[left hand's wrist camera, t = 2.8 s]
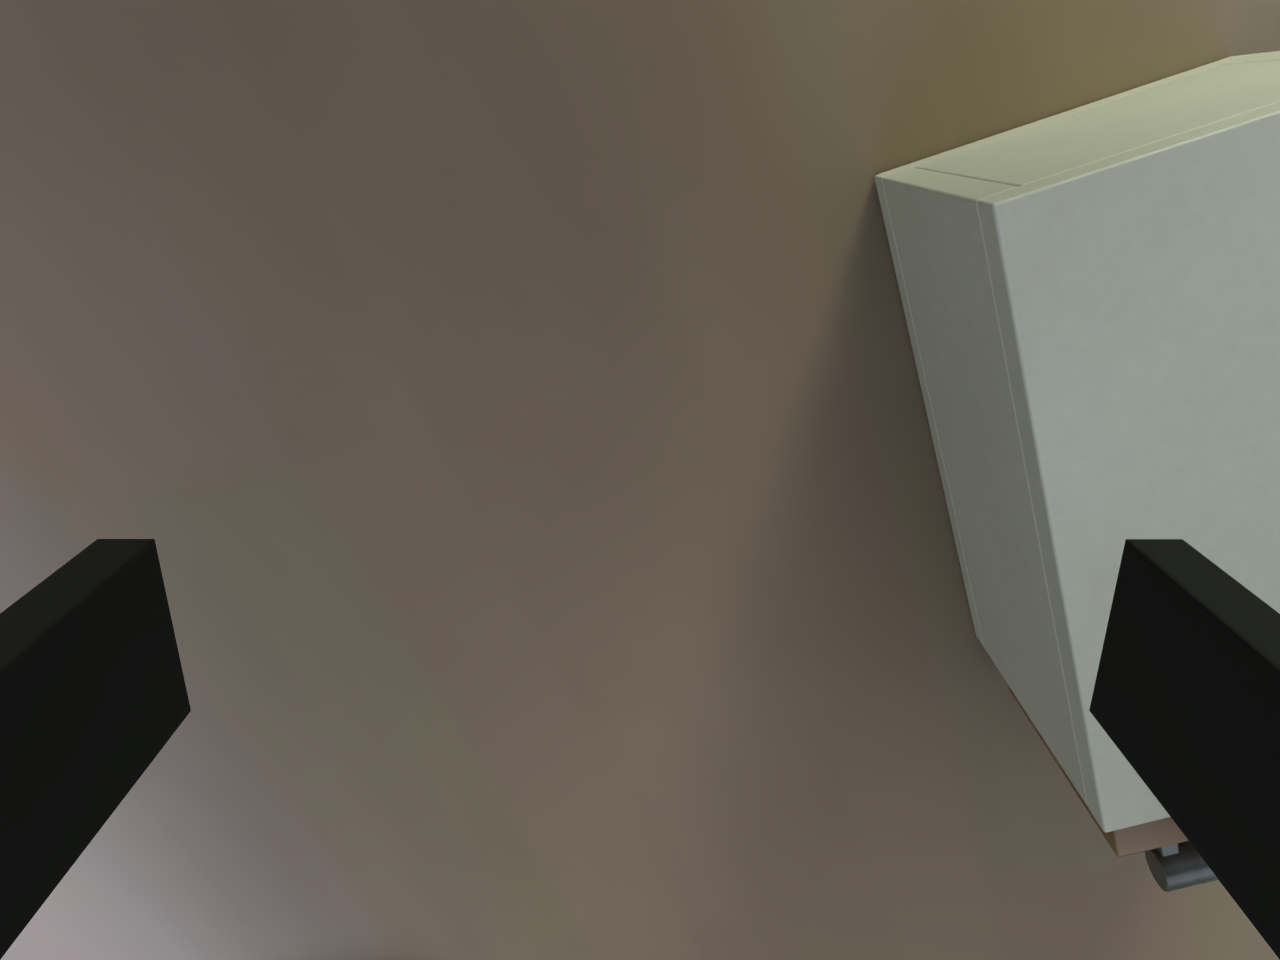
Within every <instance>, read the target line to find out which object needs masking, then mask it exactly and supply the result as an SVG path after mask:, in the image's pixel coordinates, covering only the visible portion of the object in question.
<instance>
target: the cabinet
mask: <svg viewBox="0 0 1280 960" xmlns="http://www.w3.org/2000/svg"><path fill="white" fill-rule="evenodd" d="M875 183H876V187H877V192H878V196H879V201H880V205H881V210H882V214H883V219H884V223H885V228H886V232H887V237H888V241H889V246H890V250H891V255H892V259H893V264H894V269H895V273H896V278H897V282H898V287H899V291H900V296H901V300H902V305H903V309H904V314H905V318H906V323H907V327H908V332H909V336H910V341H911V345H912V350H913V354H914V359H915V363H916V368H917V372H918V377H919V381H920V386H921V390H922V395H923V399H924V404H925V408H926V413H927V417H928V422H929V427H930V431H931V436H932V440H933V445H934V449H935V454H936V458H937V463H938V467H939V472H940V476H941V481H942V485H943V490H944V494H945V499H946V503H947V508H948V512H949V517H950V521H951V526H952V530H953V535H954V539H955V544H956V548H957V553H958V557H959V562H960V566H961V571H962V576H963V580H964V585H965V589H966V594H967V598H968V603H969V607H970V612H971V616H972V621H973V625H974V630H975V634H976V636H977V638H978V639H979V641H980V642H981V644H982V645H983V647H984V648H985V650H986V651H987V653H988V654H989V656H990V658H991V659H992V661H993V662H994V664H995V665H996V667H997V668H998V670H999V671H1000V673H1001V674H1002V676H1003V677H1004V679H1005V681H1006V682H1007V684H1008V685H1009V687H1010V688H1011V690H1012V691H1013V693H1014V694H1015V696H1016V697H1017V699H1018V701H1019V702H1020V704H1021V705H1022V707H1023V708H1024V710H1025V711H1026V713H1027V714H1028V716H1029V717H1030V719H1031V721H1032V722H1033V724H1034V725H1035V727H1036V728H1037V730H1038V731H1039V733H1040V734H1041V736H1042V737H1043V739H1044V740H1045V742H1046V744H1047V745H1048V747H1049V748H1050V750H1051V751H1052V753H1053V754H1054V756H1055V757H1056V759H1057V760H1058V762H1059V764H1060V765H1061V767H1062V768H1063V770H1064V771H1065V773H1066V774H1067V776H1068V777H1069V779H1070V780H1071V782H1072V783H1073V785H1074V787H1075V788H1076V790H1077V791H1078V793H1079V794H1080V796H1081V797H1082V799H1083V800H1084V802H1085V803H1086V805H1087V806H1088V807H1089V810H1090V811H1091V813H1092V814H1093V816H1094V818H1095V819H1096V821H1097V822H1098V824H1099V825H1100V827H1101V828H1102V830H1103V831H1104V832H1105V833H1107V832H1111V831H1116V830H1120V829H1124V828H1128V827H1132V826H1136V825H1140V824H1144V823H1148V822H1153V821H1157V820H1161V819H1165V818H1169V817H1170V815H1169V814H1168V813H1167V811H1166V810H1165V809H1164V808H1163V806H1162V805H1161V804H1160V802H1159V801H1158V800H1157V798H1156V797H1155V796H1154V795H1153V793H1152V792H1151V791H1150V789H1149V788H1148V787H1147V785H1146V784H1145V783H1144V781H1143V780H1142V779H1141V778H1140V776H1139V775H1138V774H1137V772H1136V771H1135V770H1134V768H1133V767H1132V766H1131V764H1130V763H1129V762H1128V761H1127V759H1126V758H1125V757H1124V755H1123V754H1122V753H1121V751H1120V750H1119V749H1118V748H1117V746H1116V745H1115V744H1114V742H1113V741H1112V740H1111V738H1110V737H1109V736H1108V734H1107V733H1106V732H1105V731H1104V729H1103V728H1102V727H1101V725H1100V724H1099V723H1098V721H1097V720H1096V719H1095V717H1094V716H1093V715H1092V714H1091V712H1090V711H1089V709H1090V705H1091V700H1092V695H1093V691H1094V686H1095V681H1096V676H1097V672H1098V667H1099V662H1100V658H1101V653H1102V648H1103V643H1104V639H1105V634H1106V629H1107V625H1108V620H1109V615H1110V611H1111V606H1112V601H1113V596H1114V592H1115V587H1116V582H1117V578H1118V573H1119V568H1120V563H1121V559H1122V554H1123V549H1124V545H1125V540H1126V539H1183V540H1184V541H1185V542H1187V543H1188V544H1189V545H1191V546H1192V547H1193V548H1194V549H1196V550H1197V551H1198V552H1200V553H1201V554H1202V555H1204V556H1205V557H1206V558H1208V559H1209V560H1210V561H1211V562H1213V563H1214V564H1215V565H1217V566H1218V567H1219V568H1221V569H1222V570H1223V571H1225V572H1226V573H1227V574H1228V575H1230V576H1231V577H1232V578H1234V579H1235V580H1236V581H1238V582H1239V583H1240V584H1242V585H1243V586H1244V587H1245V588H1247V589H1248V590H1249V591H1251V592H1252V593H1253V594H1255V595H1256V596H1257V597H1258V598H1260V599H1261V600H1262V601H1264V602H1265V603H1266V604H1268V605H1269V606H1270V607H1272V608H1273V609H1274V610H1275V611H1277V612H1278V613H1279V614H1280V51H1275V52H1266V53H1256V54H1250V55H1240V56H1230V57H1227V58H1224V59H1221V60H1218V61H1215V62H1212V63H1209V64H1206V65H1203V66H1200V67H1197V68H1194V69H1191V70H1188V71H1185V72H1182V73H1179V74H1176V75H1173V76H1170V77H1168V78H1165V79H1162V80H1159V81H1156V82H1153V83H1150V84H1147V85H1144V86H1141V87H1138V88H1135V89H1132V90H1129V91H1126V92H1123V93H1120V94H1117V95H1114V96H1111V97H1108V98H1105V99H1102V100H1099V101H1096V102H1093V103H1090V104H1087V105H1084V106H1081V107H1078V108H1075V109H1072V110H1069V111H1066V112H1063V113H1060V114H1057V115H1054V116H1051V117H1048V118H1045V119H1042V120H1039V121H1036V122H1033V123H1030V124H1027V125H1024V126H1021V127H1018V128H1015V129H1012V130H1009V131H1006V132H1003V133H1000V134H997V135H994V136H991V137H988V138H985V139H982V140H979V141H976V142H973V143H970V144H967V145H964V146H961V147H958V148H955V149H952V150H949V151H946V152H943V153H940V154H937V155H934V156H931V157H928V158H925V159H922V160H919V161H916V162H913V163H910V164H907V165H904V166H901V167H898V168H895V169H892V170H889V171H886V172H883V173H880V174H877V175H876V176H875Z"/></svg>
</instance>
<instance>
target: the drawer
mask: <svg viewBox="0 0 1280 960" xmlns="http://www.w3.org/2000/svg"><path fill="white" fill-rule="evenodd" d="M1008 686H1009V685H1008ZM1009 690H1010V692H1011V693H1012V695H1013V696H1014V698H1015V699H1016V701H1017V702H1018V704H1019V705H1020V707H1021V708H1022V710H1023V712H1024V713H1025V715H1026V716H1027V718H1028V719H1029V721H1030V722H1031V724H1032V725H1033V727H1034V729H1035V730H1036V732H1037V733H1038V735H1039V736H1040V738H1041V739H1042V741H1043V742H1044V744H1045V746H1046V747H1047V749H1048V750H1049V752H1050V753H1051V755H1052V756H1053V758H1054V759H1055V761H1056V763H1057V764H1058V766H1059V767H1060V769H1061V770H1062V772H1063V773H1064V775H1065V776H1066V778H1067V780H1068V781H1069V783H1070V784H1071V786H1072V787H1073V789H1074V790H1075V792H1076V793H1077V795H1078V797H1079V798H1080V800H1081V801H1082V803H1083V804H1084V806H1085V807H1086V809H1087V810H1088V812H1089V814H1090V815H1091V817H1092V818H1093V820H1094V821H1095V823H1096V824H1097V826H1098V827H1099V829H1100V831H1101V832H1102V834H1103V835H1104V837H1105V838H1106V840H1107V841H1108V843H1109V844H1110V846H1111V848H1112V849H1113V851H1114V852H1115V854H1116V855H1117V856H1118V857H1123V856H1127V855H1131V854H1135V853H1140V852H1144V851H1145V855H1146V860H1147V863H1148V865H1149V868H1150V870H1151V873H1152V875H1153V877H1154V878H1155V880H1156V882H1157V883H1158V885H1159V886H1160V887H1161V888H1162V889H1163V890H1164V891H1167V892H1168V891H1173V890H1177V889H1181V888H1185V887H1190V886H1194V885H1198V884H1202V883H1207V882H1211V881H1215V880H1219V879H1218V878H1217V877H1216V875H1215V874H1214V873H1213V872H1212V870H1211V869H1210V868H1209V866H1208V865H1207V864H1206V862H1205V861H1204V860H1203V859H1202V857H1201V856H1200V855H1199V853H1198V852H1197V851H1196V849H1195V848H1194V847H1193V845H1192V844H1191V843H1190V842H1189V840H1188V839H1187V838H1186V836H1185V835H1184V834H1183V832H1182V831H1181V830H1180V828H1179V827H1178V826H1177V825H1176V823H1175V822H1174V821H1173V819H1172V818H1171V817H1169V818H1165V819H1161V820H1157V821H1153V822H1148V823H1144V824H1140V825H1136V826H1132V827H1128V828H1124V829H1120V830H1116V831H1111V832H1107V833H1105V832H1104V831H1103V830H1102V828H1101V827H1100V825H1099V824H1098V822H1097V821H1096V819H1095V818H1094V816H1093V814H1092V813H1091V811H1090V810H1089V807H1088V806H1087V805H1086V803H1085V802H1084V800H1083V799H1082V797H1081V796H1080V794H1079V793H1078V791H1077V790H1076V788H1075V787H1074V785H1073V783H1072V782H1071V780H1070V779H1069V777H1068V776H1067V774H1066V773H1065V771H1064V770H1063V768H1062V767H1061V765H1060V764H1059V762H1058V760H1057V759H1056V757H1055V756H1054V754H1053V753H1052V751H1051V750H1050V748H1049V747H1048V745H1047V744H1046V742H1045V740H1044V739H1043V737H1042V736H1041V734H1040V733H1039V731H1038V730H1037V728H1036V727H1035V725H1034V724H1033V722H1032V721H1031V719H1030V717H1029V716H1028V714H1027V713H1026V711H1025V710H1024V708H1023V707H1022V705H1021V704H1020V702H1019V701H1018V699H1017V697H1016V696H1015V694H1014V693H1013V691H1012V690H1011V688H1010V687H1009Z"/></svg>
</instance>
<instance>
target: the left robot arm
mask: <svg viewBox="0 0 1280 960" xmlns="http://www.w3.org/2000/svg"><path fill="white" fill-rule="evenodd" d="M190 711H191V709H190V705H189V700H188V695H187V691H186V686H185V681H184V676H183V672H182V667H181V662H180V658H179V653H178V648H177V643H176V639H175V634H174V629H173V625H172V620H171V615H170V611H169V606H168V601H167V596H166V592H165V587H164V582H163V578H162V573H161V568H160V563H159V559H158V554H157V549H156V545H155V540H154V539H97V540H96V541H95V542H93V543H92V544H91V545H89V546H88V547H87V548H86V549H84V550H83V551H82V552H80V553H79V554H78V555H76V556H75V557H74V558H72V559H71V560H70V561H69V562H67V563H66V564H65V565H63V566H62V567H61V568H59V569H58V570H57V571H55V572H54V573H53V574H52V575H50V576H49V577H48V578H46V579H45V580H44V581H42V582H41V583H40V584H38V585H37V586H36V587H35V588H33V589H32V590H31V591H29V592H28V593H27V594H25V595H24V596H23V597H22V598H20V599H19V600H18V601H16V602H15V603H14V604H12V605H11V606H10V607H8V608H7V609H6V610H5V611H3V612H2V613H1V614H0V959H1V958H2V956H3V955H4V954H5V953H6V951H7V950H8V949H9V947H10V946H11V945H12V943H13V942H14V941H15V939H16V938H17V937H18V936H19V934H20V933H21V932H22V930H23V929H24V928H25V926H26V925H27V924H28V922H29V921H30V920H31V919H32V917H33V916H34V915H35V913H36V912H37V911H38V909H39V908H40V907H41V906H42V904H43V903H44V902H45V900H46V899H47V898H48V896H49V895H50V894H51V892H52V891H53V890H54V889H55V887H56V886H57V885H58V883H59V882H60V881H61V879H62V878H63V877H64V875H65V874H66V873H67V872H68V870H69V869H70V868H71V866H72V865H73V864H74V862H75V861H76V860H77V859H78V857H79V856H80V855H81V853H82V852H83V851H84V849H85V848H86V847H87V845H88V844H89V843H90V842H91V840H92V839H93V838H94V836H95V835H96V834H97V832H98V831H99V830H100V828H101V827H102V826H103V825H104V823H105V822H106V821H107V819H108V818H109V817H110V815H111V814H112V813H113V811H114V810H115V809H116V808H117V806H118V805H119V804H120V802H121V801H122V800H123V798H124V797H125V796H126V795H127V793H128V792H129V791H130V789H131V788H132V787H133V785H134V784H135V783H136V781H137V780H138V779H139V778H140V776H141V775H142V774H143V772H144V771H145V770H146V768H147V767H148V766H149V764H150V763H151V762H152V761H153V759H154V758H155V757H156V755H157V754H158V753H159V751H160V750H161V749H162V748H163V746H164V745H165V744H166V742H167V741H168V740H169V738H170V737H171V736H172V734H173V733H174V732H175V731H176V729H177V728H178V727H179V725H180V724H181V723H182V721H183V720H184V719H185V717H186V716H187V715H188V714H189V712H190ZM1089 711H1090V712H1091V714H1092V715H1093V716H1094V717H1095V719H1096V720H1097V721H1098V723H1099V724H1100V725H1101V727H1102V728H1103V729H1104V731H1105V732H1106V733H1107V734H1108V736H1109V737H1110V738H1111V740H1112V741H1113V742H1114V744H1115V745H1116V746H1117V748H1118V749H1119V750H1120V751H1121V753H1122V754H1123V755H1124V757H1125V758H1126V759H1127V761H1128V762H1129V763H1130V764H1131V766H1132V767H1133V768H1134V770H1135V771H1136V772H1137V774H1138V775H1139V776H1140V778H1141V779H1142V780H1143V781H1144V783H1145V784H1146V785H1147V787H1148V788H1149V789H1150V791H1151V792H1152V793H1153V795H1154V796H1155V797H1156V798H1157V800H1158V801H1159V802H1160V804H1161V805H1162V806H1163V808H1164V809H1165V810H1166V811H1167V813H1168V814H1169V815H1170V817H1171V818H1172V819H1173V821H1174V822H1175V823H1176V825H1177V826H1178V827H1179V828H1180V830H1181V831H1182V832H1183V834H1184V835H1185V836H1186V838H1187V839H1188V840H1189V842H1190V843H1191V844H1192V845H1193V847H1194V848H1195V849H1196V851H1197V852H1198V853H1199V855H1200V856H1201V857H1202V859H1203V860H1204V861H1205V862H1206V864H1207V865H1208V866H1209V868H1210V869H1211V870H1212V872H1213V873H1214V874H1215V875H1216V877H1217V878H1218V879H1219V881H1220V882H1221V883H1222V885H1223V886H1224V887H1225V889H1226V890H1227V891H1228V892H1229V894H1230V895H1231V896H1232V898H1233V899H1234V900H1235V902H1236V903H1237V904H1238V906H1239V907H1240V908H1241V909H1242V911H1243V912H1244V913H1245V915H1246V916H1247V917H1248V919H1249V920H1250V921H1251V922H1252V924H1253V925H1254V926H1255V928H1256V929H1257V930H1258V932H1259V933H1260V934H1261V936H1262V937H1263V938H1264V939H1265V941H1266V942H1267V943H1268V945H1269V946H1270V947H1271V949H1272V950H1273V951H1274V953H1275V954H1276V955H1277V956H1278V958H1279V959H1280V614H1279V613H1278V612H1277V611H1275V610H1274V609H1273V608H1272V607H1270V606H1269V605H1268V604H1266V603H1265V602H1264V601H1262V600H1261V599H1260V598H1258V597H1257V596H1256V595H1255V594H1253V593H1252V592H1251V591H1249V590H1248V589H1247V588H1245V587H1244V586H1243V585H1242V584H1240V583H1239V582H1238V581H1236V580H1235V579H1234V578H1232V577H1231V576H1230V575H1228V574H1227V573H1226V572H1225V571H1223V570H1222V569H1221V568H1219V567H1218V566H1217V565H1215V564H1214V563H1213V562H1211V561H1210V560H1209V559H1208V558H1206V557H1205V556H1204V555H1202V554H1201V553H1200V552H1198V551H1197V550H1196V549H1194V548H1193V547H1192V546H1191V545H1189V544H1188V543H1187V542H1185V541H1184V540H1183V539H1126V540H1125V545H1124V549H1123V554H1122V559H1121V563H1120V568H1119V573H1118V578H1117V582H1116V587H1115V592H1114V596H1113V601H1112V606H1111V611H1110V615H1109V620H1108V625H1107V629H1106V634H1105V639H1104V643H1103V648H1102V653H1101V658H1100V662H1099V667H1098V672H1097V676H1096V681H1095V686H1094V691H1093V695H1092V700H1091V705H1090V709H1089Z"/></svg>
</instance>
